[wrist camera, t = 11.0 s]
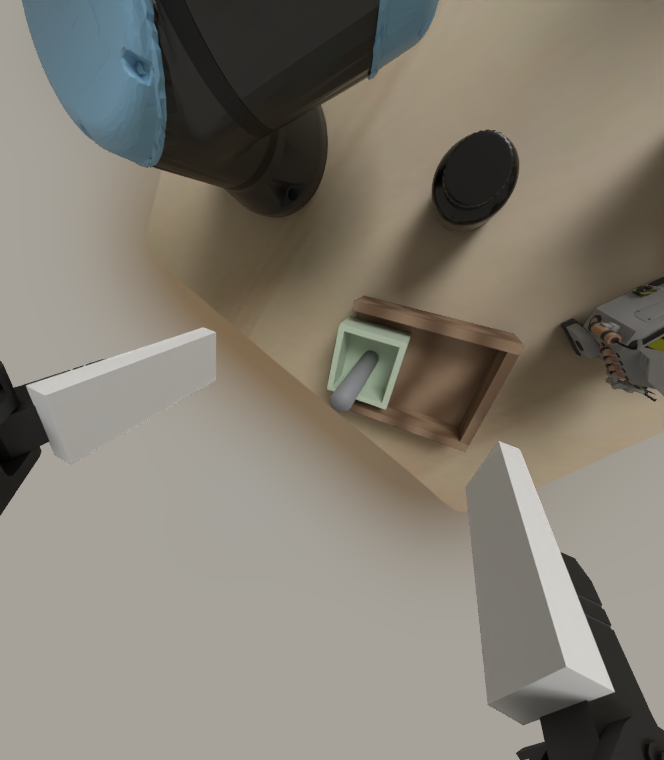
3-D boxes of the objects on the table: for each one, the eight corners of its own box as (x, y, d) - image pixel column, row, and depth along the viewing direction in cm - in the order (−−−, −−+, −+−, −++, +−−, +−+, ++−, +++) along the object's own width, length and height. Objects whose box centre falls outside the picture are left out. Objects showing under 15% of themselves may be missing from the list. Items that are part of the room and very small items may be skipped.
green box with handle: (337, 376, 44) (296, 424, 31) (350, 316, 39) (307, 345, 27) (391, 394, 42) (370, 453, 29) (411, 333, 37) (396, 373, 25)
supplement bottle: (508, 155, 28) (546, 98, 18) (494, 230, 31) (521, 218, 21) (437, 166, 30) (434, 121, 20) (430, 235, 33) (425, 226, 23)
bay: (342, 390, 46) (332, 403, 42) (363, 295, 39) (354, 300, 34) (462, 431, 42) (465, 451, 37) (514, 334, 34) (524, 345, 30)
